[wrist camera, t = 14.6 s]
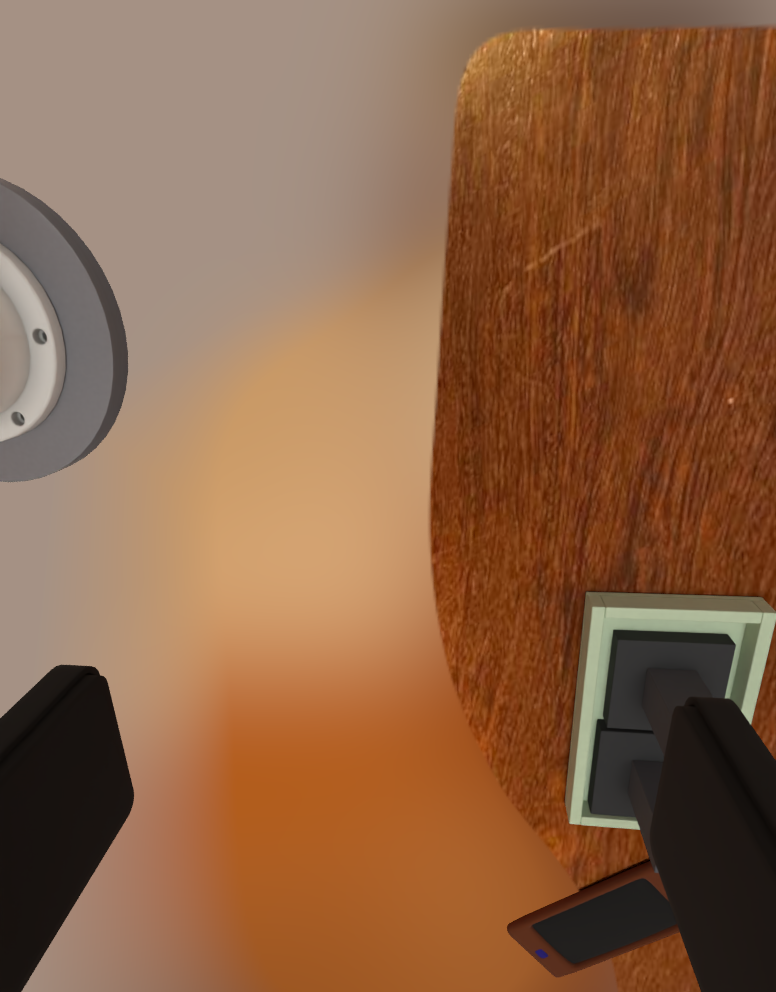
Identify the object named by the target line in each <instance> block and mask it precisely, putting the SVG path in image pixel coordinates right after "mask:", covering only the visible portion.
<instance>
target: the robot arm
mask: <svg viewBox="0 0 776 992" xmlns="http://www.w3.org/2000/svg"><path fill="white" fill-rule="evenodd" d="M65 372H66V357H65V346H64V340H63V335H62V330H61V327H60V324H59V321H58V318H57V315H56V313H55V310H54V307H53V306H52V304H51V302H50V300H49V298H48V296H47V294H46V292H45V291H44V289H43V287H42V286H41V284H40V283H39V282H38V280H37V279H36V278H35V276H34V275H33V274H32V272H31V271H30V270H29V268H28V267H27V266H26V265H25V264H24V263H23V262H22V261H21V260H20V259H19V258H18V257H17V256H16V255H15V254H14V253H13V252H12V251H10V250H9V249H7V248H6V247H5V246H3V245H2V244H1V243H0V441H5V440H8V439H11V438H14V437H18V436H20V435H22V434H24V433H26V432H29V431H31V430H33V429H34V428H36V427H37V426H38V425H39V424H40V423H41V422H43V421H44V420H45V419H46V418H47V417H48V415H49V414H50V412H51V411H52V410H53V408H54V407H55V405H56V403H57V401H58V398H59V396H60V393H61V391H62V388H63V383H64V377H65ZM133 801H134V790H133V786H132V782H131V778H130V774H129V770H128V766H127V761H126V757H125V753H124V749H123V744H122V740H121V736H120V732H119V728H118V724H117V720H116V715H115V711H114V707H113V703H112V699H111V695H110V690H109V686H108V683H107V680H106V678H105V677H104V676H100V674H99V671H98V670H97V669H96V668H95V667H92V666H76V665H59V666H56V667H55V668H54V669H52V670H51V671H50V672H49V673H47V674H46V675H45V676H44V677H43V678H42V679H41V680H40V681H39V682H38V683H37V684H36V685H35V686H34V687H33V688H32V689H31V690H30V691H29V692H28V693H26V694H25V695H24V696H23V697H22V698H21V699H20V700H19V701H18V702H17V703H16V704H15V705H14V706H13V707H12V708H11V709H10V710H9V711H8V712H7V713H6V714H4V716H2V717H1V718H0V992H21V991H22V990H23V988H24V986H25V985H26V983H27V981H28V980H29V978H30V976H31V975H32V973H33V972H34V970H35V968H36V967H37V965H38V963H39V962H40V960H41V958H42V957H43V955H44V953H45V952H46V950H47V948H48V947H49V945H50V943H51V942H52V940H53V939H54V937H55V935H56V934H57V932H58V930H59V929H60V927H61V926H62V924H63V922H64V921H65V919H66V917H67V916H68V914H69V912H70V911H71V909H72V907H73V906H74V904H75V903H76V901H77V899H78V898H79V896H80V894H81V893H82V891H83V890H84V888H85V886H86V885H87V883H88V881H89V880H90V878H91V876H92V875H93V873H94V872H95V870H96V868H97V867H98V865H99V863H100V862H101V860H102V858H103V857H104V855H105V853H106V852H107V850H108V849H109V847H110V845H111V844H112V841H113V840H114V839H115V837H116V835H117V834H118V832H119V830H120V829H121V827H122V826H123V824H124V822H125V821H126V819H127V817H128V815H129V814H130V811H131V808H132V805H133ZM650 845H651V851H652V855H653V858H654V861H655V864H656V867H657V870H658V872H659V875H660V878H661V881H662V884H663V886H664V889H665V892H666V895H667V897H668V900H669V903H670V906H671V909H672V911H673V914H674V917H675V920H676V923H677V925H678V928H679V931H680V934H681V936H682V939H683V942H684V945H685V948H686V950H687V953H688V956H689V959H690V962H691V964H692V967H693V970H694V973H695V975H696V978H697V981H698V984H699V987H700V989H701V992H776V760H775V759H774V758H773V756H772V755H771V753H770V752H769V750H768V749H767V747H766V746H765V745H764V743H763V742H762V740H761V739H760V737H759V736H758V734H757V733H756V732H755V730H754V729H753V727H752V726H751V724H750V723H749V721H748V720H747V719H746V717H745V716H744V714H743V713H742V711H741V710H740V708H739V707H738V706H737V704H736V703H735V702H734V701H733V700H731V699H729V698H710V697H688V699H687V700H686V702H685V705H684V706H676V707H675V708H674V711H673V714H672V720H671V725H670V730H669V735H668V740H667V745H666V750H665V756H664V761H663V766H662V771H661V776H660V781H659V786H658V791H657V797H656V802H655V807H654V812H653V817H652V822H651V827H650Z"/></svg>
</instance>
